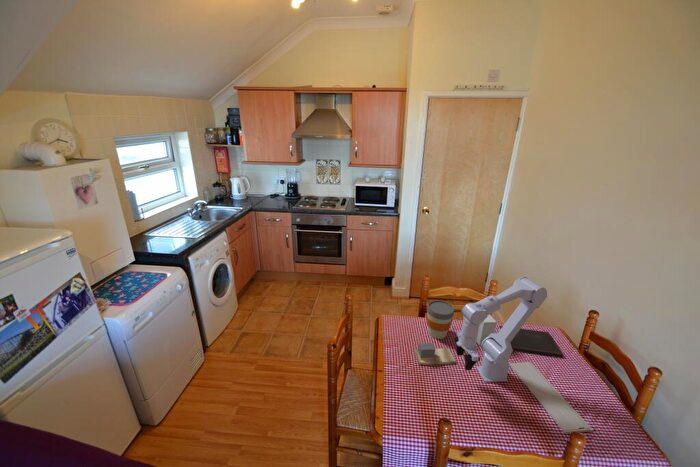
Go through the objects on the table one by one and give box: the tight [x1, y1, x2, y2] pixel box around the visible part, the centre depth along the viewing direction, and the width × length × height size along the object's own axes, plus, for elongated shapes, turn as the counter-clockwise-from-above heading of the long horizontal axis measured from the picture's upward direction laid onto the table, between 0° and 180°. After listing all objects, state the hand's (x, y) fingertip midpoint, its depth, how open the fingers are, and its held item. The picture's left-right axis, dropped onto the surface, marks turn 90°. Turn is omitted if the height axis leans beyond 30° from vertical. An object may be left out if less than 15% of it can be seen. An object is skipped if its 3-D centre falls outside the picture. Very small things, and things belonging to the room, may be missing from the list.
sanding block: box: [417, 342, 436, 359], centre depth 132 cm, size 6×4×5 cm, turn 94°
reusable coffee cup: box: [426, 299, 455, 340], centre depth 147 cm, size 13×13×15 cm
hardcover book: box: [498, 325, 564, 359], centre depth 144 cm, size 16×23×2 cm
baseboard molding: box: [509, 361, 597, 435], centre depth 116 cm, size 31×3×12 cm
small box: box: [476, 314, 498, 346], centre depth 143 cm, size 8×6×13 cm
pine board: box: [413, 348, 457, 366], centre depth 133 cm, size 16×8×1 cm, turn 94°
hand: (463, 362), depth 118 cm, fingers open, 7 cm apart
